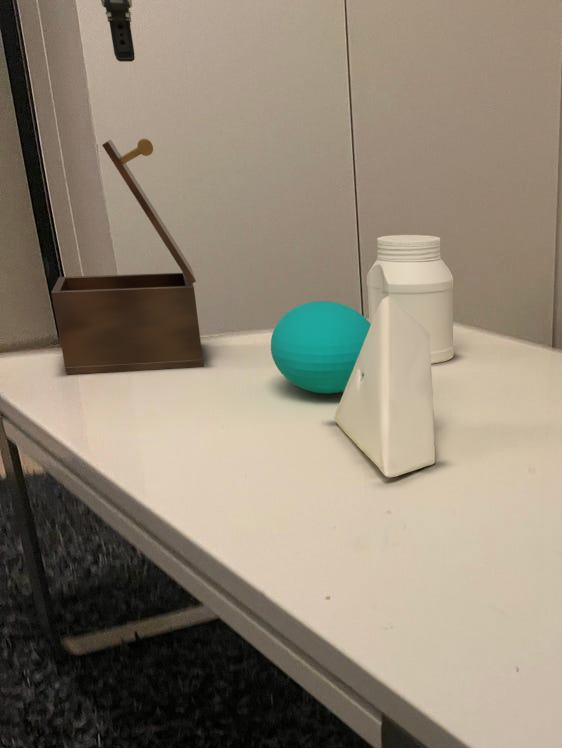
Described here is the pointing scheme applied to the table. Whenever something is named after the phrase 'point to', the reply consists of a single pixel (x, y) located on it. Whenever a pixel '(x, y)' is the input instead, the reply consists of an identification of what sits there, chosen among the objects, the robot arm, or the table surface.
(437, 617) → the table surface
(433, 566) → the table surface
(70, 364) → the chest
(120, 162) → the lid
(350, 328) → the toy
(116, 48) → the robot arm
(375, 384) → the white wedge
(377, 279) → the jar
